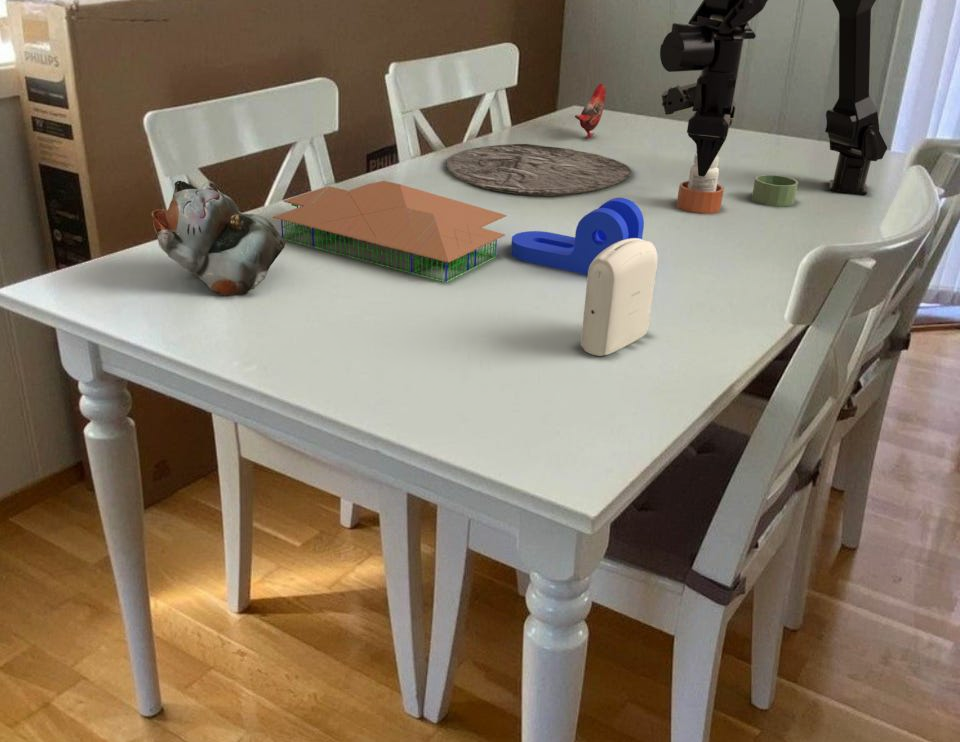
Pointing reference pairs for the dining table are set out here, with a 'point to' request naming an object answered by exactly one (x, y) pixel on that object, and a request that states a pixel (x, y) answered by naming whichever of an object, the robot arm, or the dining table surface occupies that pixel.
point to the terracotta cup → (699, 199)
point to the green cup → (774, 190)
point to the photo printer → (619, 296)
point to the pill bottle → (706, 182)
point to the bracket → (581, 237)
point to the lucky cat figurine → (217, 239)
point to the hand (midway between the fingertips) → (704, 169)
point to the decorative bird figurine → (593, 110)
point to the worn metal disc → (536, 169)
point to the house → (396, 223)
